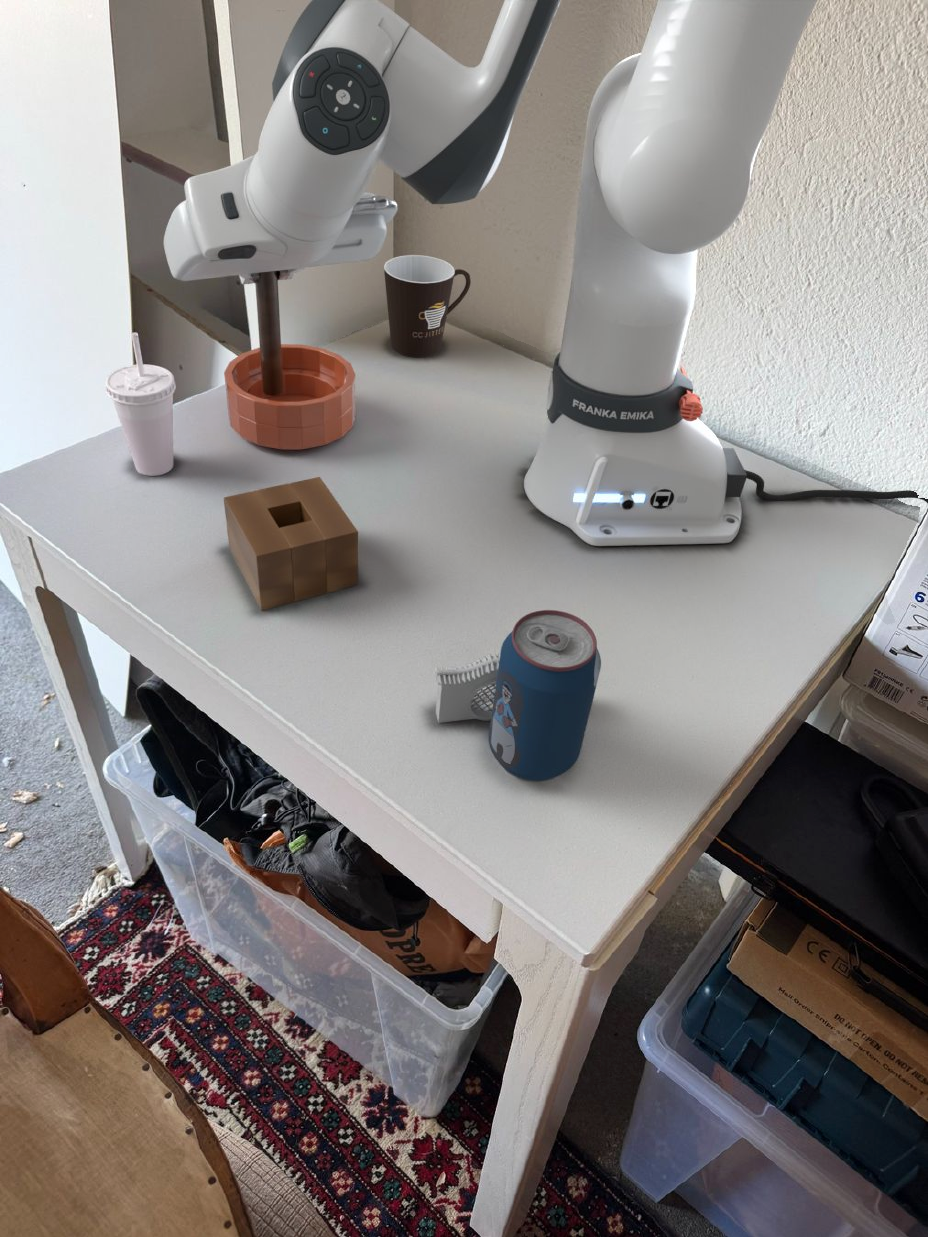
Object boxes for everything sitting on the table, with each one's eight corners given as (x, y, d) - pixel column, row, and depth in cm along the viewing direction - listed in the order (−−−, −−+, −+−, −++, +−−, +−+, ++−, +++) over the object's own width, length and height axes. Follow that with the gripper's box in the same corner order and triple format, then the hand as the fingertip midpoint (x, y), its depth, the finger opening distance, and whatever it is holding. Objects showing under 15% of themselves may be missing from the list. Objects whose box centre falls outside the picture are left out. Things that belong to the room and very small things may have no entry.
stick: (285, 387, 101) (274, 174, 86) (281, 396, 100) (269, 181, 85) (265, 384, 101) (251, 171, 86) (260, 394, 100) (245, 178, 85)
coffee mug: (387, 362, 115) (389, 283, 108) (378, 331, 121) (379, 254, 114) (478, 360, 117) (485, 282, 111) (464, 330, 123) (470, 254, 117)
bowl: (362, 398, 108) (363, 350, 104) (344, 462, 98) (343, 411, 94) (246, 386, 108) (242, 338, 104) (215, 449, 98) (209, 398, 94)
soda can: (589, 738, 72) (619, 624, 64) (559, 803, 67) (587, 688, 59) (507, 706, 73) (525, 591, 65) (472, 767, 69) (487, 652, 61)
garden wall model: (575, 694, 75) (588, 641, 71) (582, 711, 74) (595, 658, 70) (430, 711, 72) (434, 657, 69) (435, 728, 71) (439, 674, 67)
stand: (321, 529, 89) (319, 476, 85) (358, 584, 83) (358, 531, 79) (229, 551, 85) (223, 497, 81) (261, 611, 80) (256, 556, 76)
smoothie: (195, 452, 97) (178, 325, 87) (175, 486, 92) (154, 356, 83) (135, 445, 97) (111, 317, 88) (111, 479, 92) (84, 347, 83)
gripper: (394, 163, 84) (352, 234, 96) (166, 179, 76) (152, 254, 88) (413, 231, 84) (368, 293, 97) (187, 254, 76) (171, 318, 88)
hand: (263, 274), depth 92 cm, fingers closed on stick, 2 cm apart
